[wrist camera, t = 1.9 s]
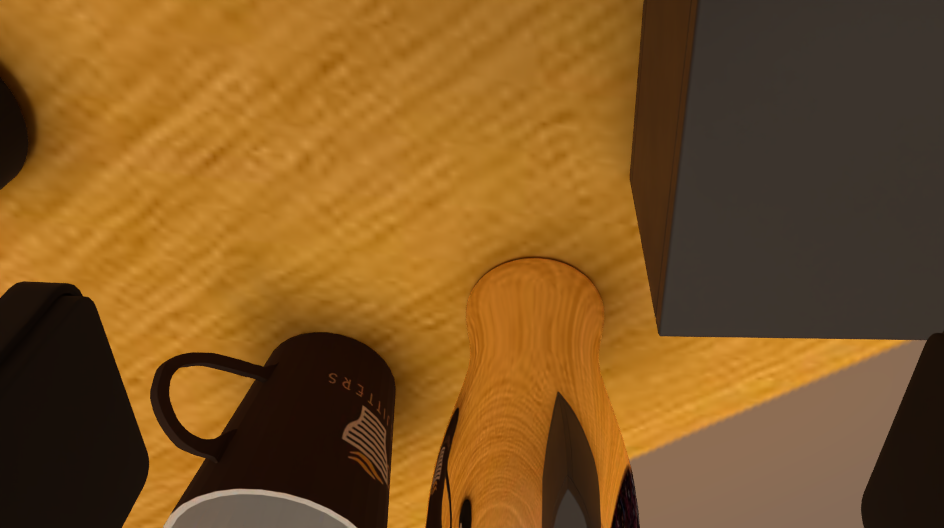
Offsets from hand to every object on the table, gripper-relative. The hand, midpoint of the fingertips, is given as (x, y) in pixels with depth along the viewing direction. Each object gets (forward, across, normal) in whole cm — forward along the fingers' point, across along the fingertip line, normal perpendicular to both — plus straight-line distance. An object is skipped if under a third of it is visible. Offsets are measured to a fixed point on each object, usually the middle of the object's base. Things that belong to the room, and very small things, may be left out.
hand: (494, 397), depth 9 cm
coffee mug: (+21, +9, +18) cm, 30 cm away
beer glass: (+21, -1, +15) cm, 26 cm away
